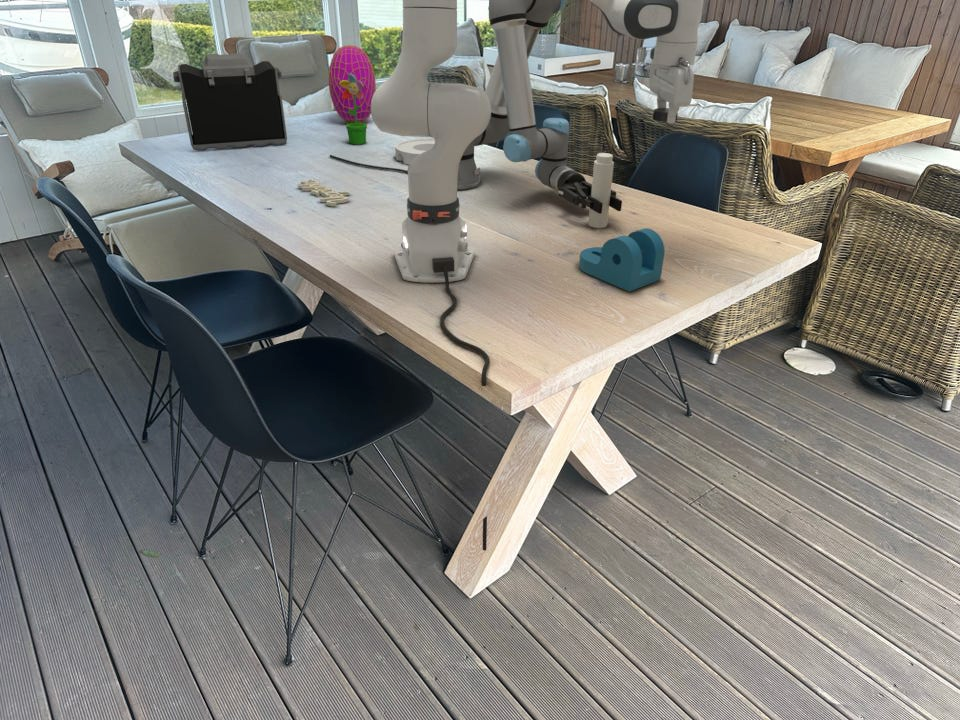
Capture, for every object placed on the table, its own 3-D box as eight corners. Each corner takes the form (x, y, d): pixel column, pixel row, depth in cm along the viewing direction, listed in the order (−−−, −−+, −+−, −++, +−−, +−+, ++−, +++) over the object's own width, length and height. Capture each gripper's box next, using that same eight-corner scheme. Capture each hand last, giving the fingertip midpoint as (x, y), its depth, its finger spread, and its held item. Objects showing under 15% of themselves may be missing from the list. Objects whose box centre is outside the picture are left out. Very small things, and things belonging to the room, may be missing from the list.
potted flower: (342, 144, 260) (336, 73, 247) (351, 139, 266) (346, 70, 254) (365, 146, 257) (360, 74, 245) (374, 141, 264) (369, 71, 251)
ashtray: (454, 167, 232) (454, 155, 230) (388, 164, 235) (387, 152, 233) (466, 151, 252) (466, 140, 250) (404, 148, 255) (404, 137, 253)
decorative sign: (361, 197, 199) (330, 204, 194) (361, 201, 200) (330, 207, 195) (320, 177, 217) (291, 182, 212) (321, 180, 218) (291, 185, 213)
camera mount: (660, 279, 153) (667, 234, 148) (629, 291, 148) (635, 245, 142) (600, 255, 165) (604, 213, 160) (569, 265, 160) (573, 222, 154)
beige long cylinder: (607, 228, 183) (615, 157, 173) (588, 227, 183) (594, 156, 173) (606, 222, 187) (614, 152, 177) (588, 221, 187) (594, 151, 178)
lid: (681, 119, 159) (683, 110, 158) (667, 123, 156) (668, 113, 155) (661, 115, 163) (663, 106, 162) (647, 119, 160) (648, 109, 159)
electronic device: (284, 132, 276) (273, 51, 260) (292, 144, 258) (281, 58, 243) (187, 139, 264) (169, 54, 249) (188, 152, 246) (169, 62, 231)
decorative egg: (362, 116, 305) (357, 42, 290) (386, 123, 292) (382, 46, 277) (324, 121, 294) (316, 45, 279) (347, 129, 281) (340, 49, 266)
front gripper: (705, 61, 144) (693, 129, 151) (674, 49, 161) (665, 110, 168) (675, 61, 143) (666, 130, 151) (648, 49, 161) (640, 110, 168)
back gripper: (594, 192, 201) (638, 217, 182) (539, 199, 195) (578, 225, 176) (597, 167, 197) (642, 189, 178) (540, 172, 191) (581, 196, 172)
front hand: (665, 119), depth 160 cm, fingers closed on lid, 5 cm apart
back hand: (610, 207), depth 177 cm, fingers closed on beige long cylinder, 5 cm apart
